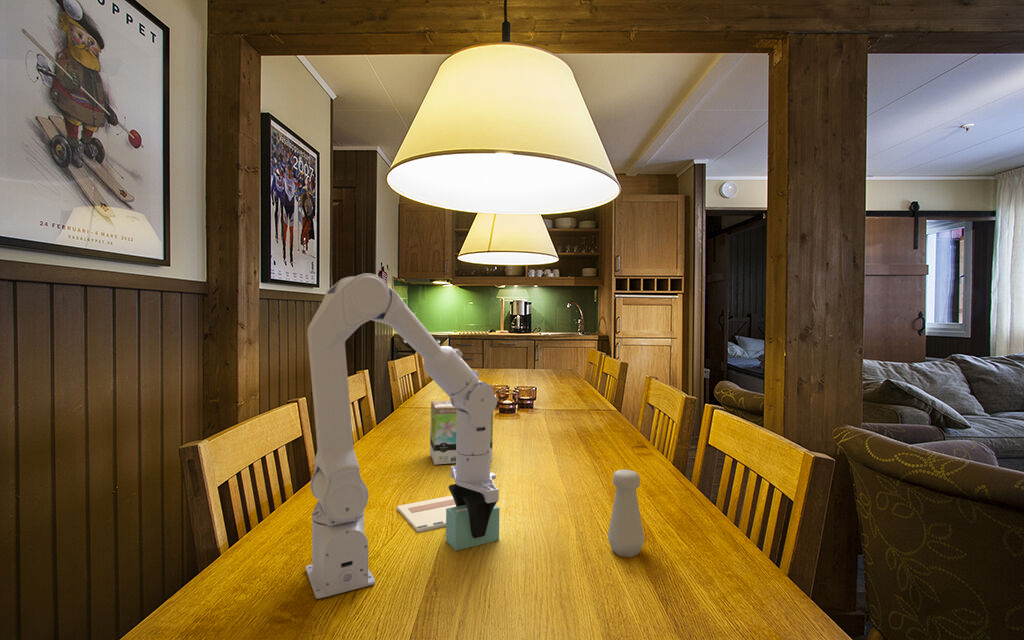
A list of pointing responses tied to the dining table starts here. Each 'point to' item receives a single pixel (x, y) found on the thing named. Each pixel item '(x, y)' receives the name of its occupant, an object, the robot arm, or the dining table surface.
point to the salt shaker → (626, 515)
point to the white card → (427, 513)
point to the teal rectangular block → (468, 528)
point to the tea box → (446, 432)
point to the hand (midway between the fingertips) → (472, 531)
